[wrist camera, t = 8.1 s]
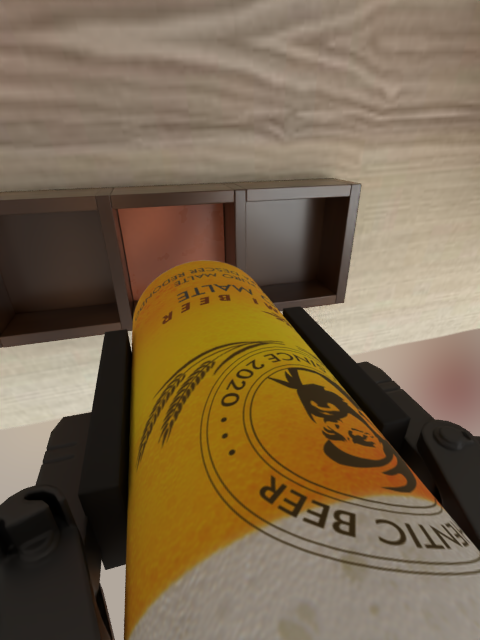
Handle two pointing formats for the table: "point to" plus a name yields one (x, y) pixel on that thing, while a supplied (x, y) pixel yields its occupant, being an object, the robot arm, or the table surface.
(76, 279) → the rack
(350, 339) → the table surface
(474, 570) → the beer can
